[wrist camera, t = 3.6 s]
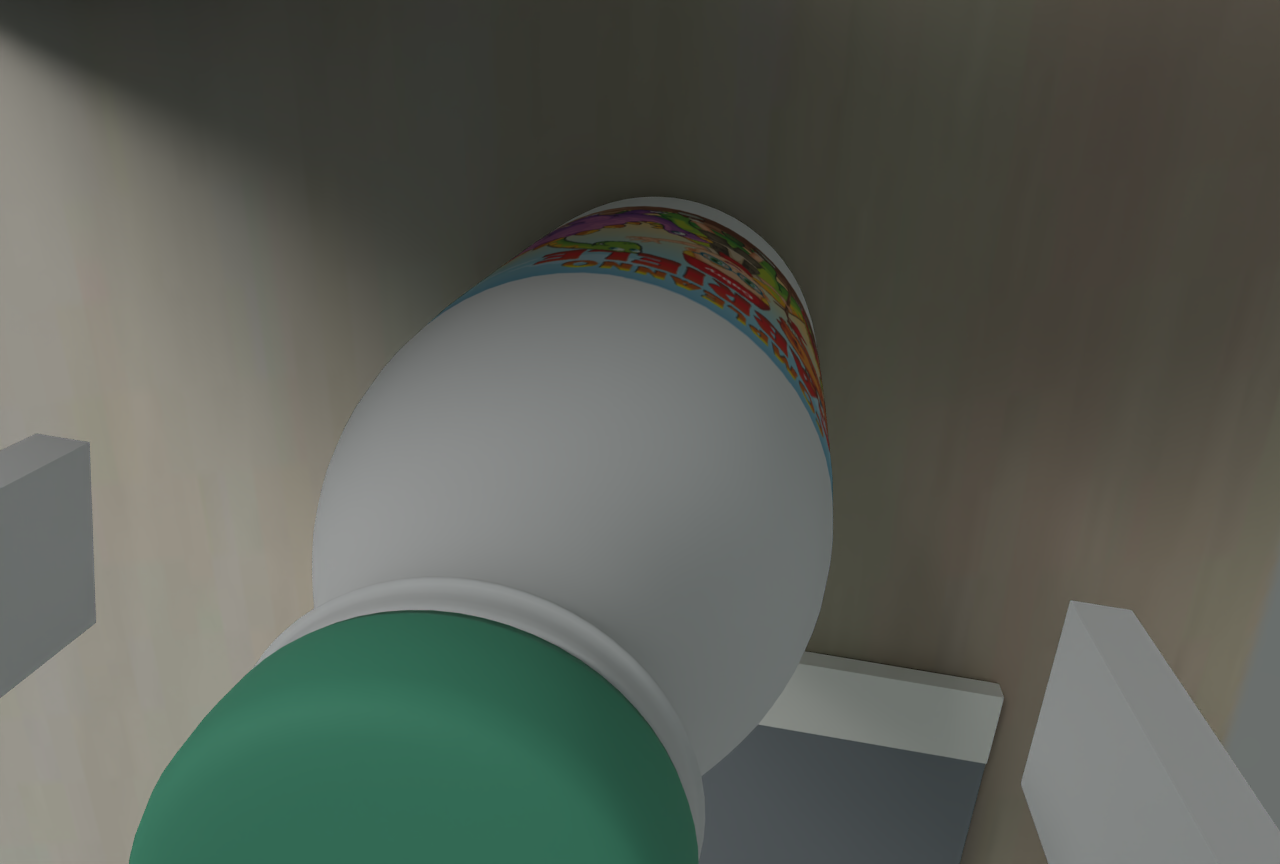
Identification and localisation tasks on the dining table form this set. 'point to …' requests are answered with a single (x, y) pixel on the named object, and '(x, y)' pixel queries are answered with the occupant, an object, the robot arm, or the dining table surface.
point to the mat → (854, 769)
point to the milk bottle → (539, 571)
